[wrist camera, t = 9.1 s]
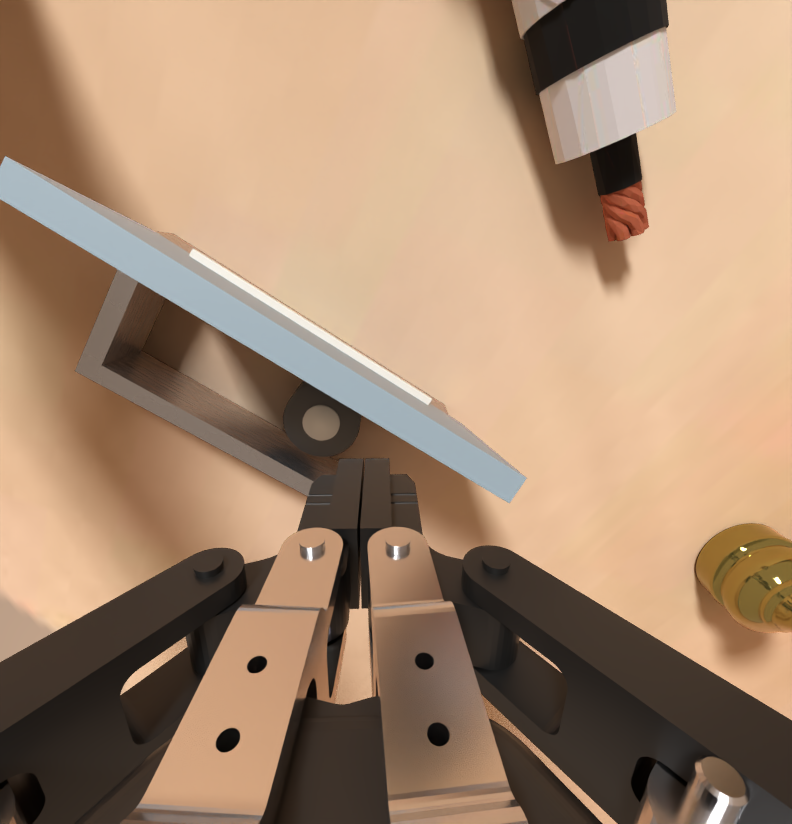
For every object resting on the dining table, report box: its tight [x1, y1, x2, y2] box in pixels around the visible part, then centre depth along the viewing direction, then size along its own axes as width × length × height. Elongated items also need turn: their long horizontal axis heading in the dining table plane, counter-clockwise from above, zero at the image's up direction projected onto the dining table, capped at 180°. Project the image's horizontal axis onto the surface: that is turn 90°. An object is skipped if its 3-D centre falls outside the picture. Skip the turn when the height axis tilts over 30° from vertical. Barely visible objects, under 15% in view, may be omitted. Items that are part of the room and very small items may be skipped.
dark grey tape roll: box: [283, 381, 361, 457], centre depth 30 cm, size 5×5×4 cm
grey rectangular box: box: [75, 231, 448, 496], centre depth 29 cm, size 21×9×4 cm, turn 57°
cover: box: [0, 156, 526, 503], centre depth 20 cm, size 20×11×2 cm
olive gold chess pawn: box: [696, 523, 792, 633], centre depth 32 cm, size 7×7×10 cm
